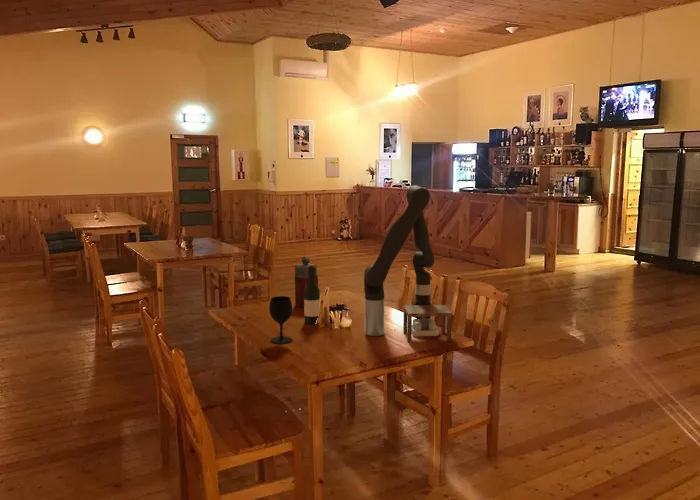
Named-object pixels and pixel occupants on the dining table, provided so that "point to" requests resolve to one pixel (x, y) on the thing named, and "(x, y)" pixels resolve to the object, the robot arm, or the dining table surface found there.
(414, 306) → the counter shelf
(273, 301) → the wine glass
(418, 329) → the tray
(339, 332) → the dining table surface
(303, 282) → the pepper mill
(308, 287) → the wine bottle
